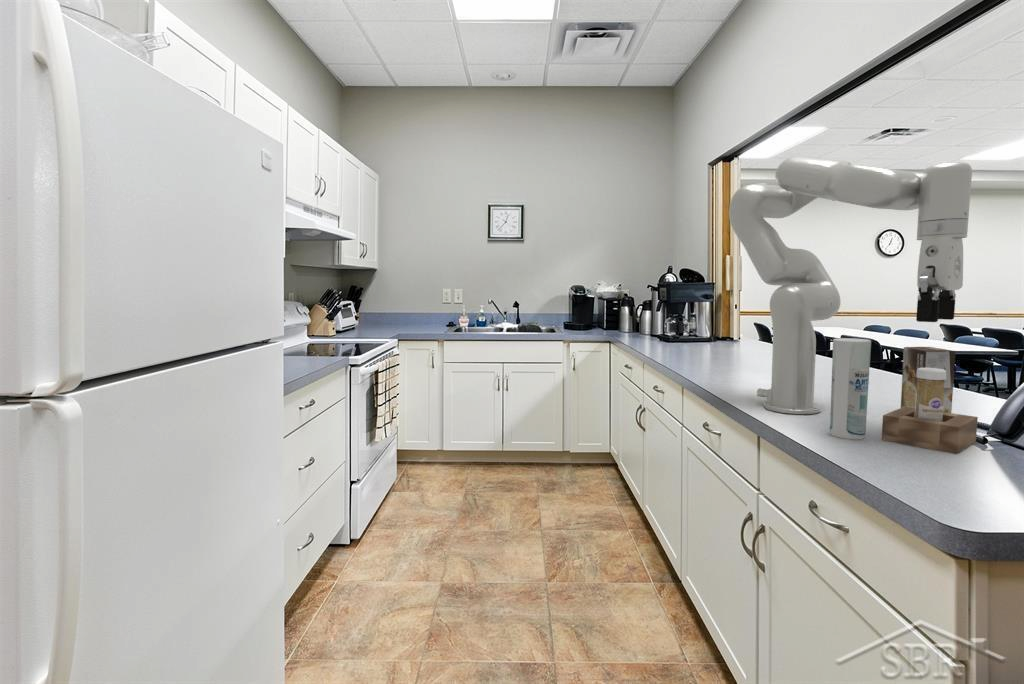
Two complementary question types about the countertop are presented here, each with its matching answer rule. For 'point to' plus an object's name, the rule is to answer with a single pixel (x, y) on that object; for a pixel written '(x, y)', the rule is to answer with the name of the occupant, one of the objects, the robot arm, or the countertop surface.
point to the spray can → (849, 387)
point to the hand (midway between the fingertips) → (935, 320)
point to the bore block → (930, 430)
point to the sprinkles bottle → (930, 393)
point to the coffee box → (926, 359)
